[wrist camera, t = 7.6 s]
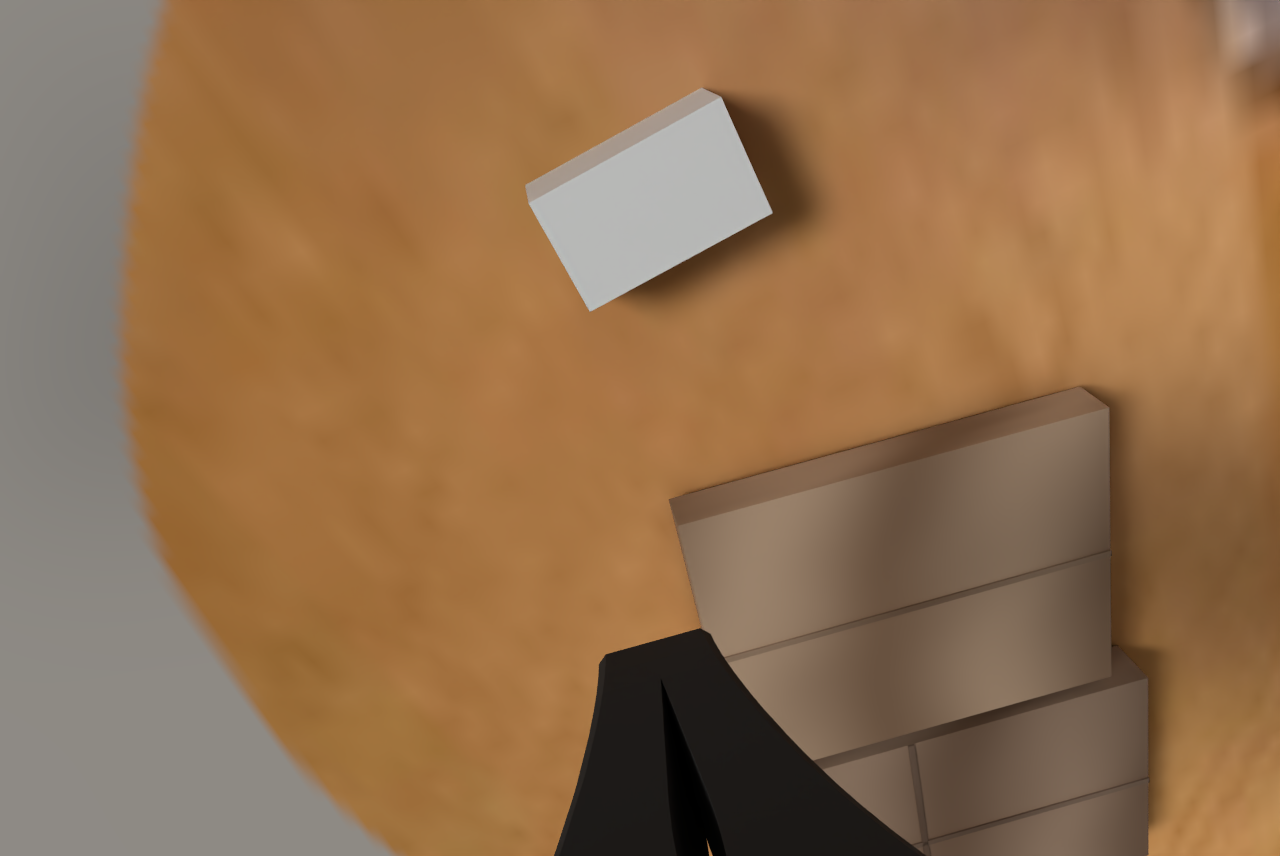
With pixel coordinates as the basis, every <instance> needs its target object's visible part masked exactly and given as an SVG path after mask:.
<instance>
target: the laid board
mask: <svg viewBox="0 0 1280 856" xmlns="http://www.w3.org/2000/svg"><path fill="white" fill-rule="evenodd" d="M1111 675H1112V676H1111V677H1108V678H1104V679H1100V680H1097V681H1093V682H1090V683H1086V684H1083V685H1079V686H1076V687H1072V688H1069V689H1065V690H1061V691H1058V692H1054V693H1051V694H1047V695H1044V696H1040V697H1037V698H1033V699H1029V700H1026V701H1022V702H1019V703H1015V704H1012V705H1008V706H1005V707H1001V708H998V709H994V710H990V711H987V712H983V713H980V714H976V715H973V716H969V717H966V718H962V719H958V720H955V721H951V722H948V723H944V724H941V725H937V726H934V727H930V728H927V729H923V730H919V731H916V732H912V733H909V734H905V735H902V736H898V737H895V738H891V739H887V740H884V741H880V742H877V743H873V744H870V745H866V746H863V747H859V748H856V749H852V750H848V751H845V752H841V753H838V754H834V755H831V756H827V757H824V758H820V759H816V760H813V761H814V762H815V763H816V764H817V765H818V766H819V767H820V768H821V769H822V770H823V771H824V772H825V773H826V774H827V775H828V776H830V777H831V778H832V779H833V780H834V781H835V782H836V783H837V784H838V785H839V786H840V787H842V788H843V789H844V790H845V791H846V792H847V793H848V794H849V795H851V796H852V797H853V798H854V799H855V800H856V801H857V802H859V803H860V804H861V805H862V806H863V807H864V808H866V809H867V810H868V811H869V812H871V813H872V814H873V815H874V816H876V817H877V818H878V819H879V820H880V821H882V822H883V823H884V824H885V825H887V826H888V827H889V828H890V829H892V830H893V831H894V832H895V833H897V834H898V835H899V836H901V837H902V838H903V839H905V840H906V841H907V842H909V843H910V844H911V845H913V846H914V847H915V848H917V849H918V850H919V851H921V852H922V853H923V854H925V855H926V856H1147V855H1148V783H1149V777H1148V677H1147V676H1146V675H1145V674H1144V673H1143V672H1142V671H1141V670H1140V669H1139V668H1138V667H1137V665H1136V664H1135V663H1134V662H1133V661H1132V660H1131V659H1130V658H1129V657H1128V656H1127V655H1126V654H1125V653H1124V652H1123V651H1122V650H1121V649H1120V647H1119V646H1118V645H1116V646H1112V647H1111Z"/></svg>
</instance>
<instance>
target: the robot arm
mask: <svg viewBox="0 0 1280 856" xmlns="http://www.w3.org/2000/svg"><path fill="white" fill-rule="evenodd" d="M706 838H707V839H706ZM707 841H708V844H709V847H710V849H711V852H712V855H713V856H926V855H925V854H923V853H922V852H921V851H919V850H918V849H917V848H915V847H914V846H913V845H911V844H910V843H909V842H907V841H906V840H905V839H903V838H902V837H901V836H899V835H898V834H897V833H895V832H894V831H893V830H892V829H890V828H889V827H888V826H887V825H885V824H884V823H883V822H882V821H880V820H879V819H878V818H877V817H876V816H874V815H873V814H872V813H871V812H869V811H868V810H867V809H866V808H864V807H863V806H862V805H861V804H860V803H859V802H857V801H856V800H855V799H854V798H853V797H852V796H851V795H849V794H848V793H847V792H846V791H845V790H844V789H843V788H842V787H840V786H839V785H838V784H837V783H836V782H835V781H834V780H833V779H832V778H831V777H830V776H828V775H827V774H826V773H825V772H824V771H823V770H822V769H821V768H820V767H819V766H818V765H817V764H816V763H815V762H814V761H813V760H812V759H811V758H810V757H809V756H808V755H807V754H806V753H805V752H804V751H803V750H802V749H801V748H800V747H799V746H798V745H797V744H796V743H795V742H794V741H793V740H792V739H791V738H790V737H789V736H788V735H787V734H786V733H785V732H784V730H783V729H782V728H781V727H780V726H779V725H778V724H777V723H776V722H775V721H774V719H773V718H772V717H771V716H770V715H769V714H768V713H767V712H766V711H765V709H764V708H763V707H762V706H761V705H760V704H759V703H758V701H757V700H756V699H755V698H754V697H753V695H752V694H751V693H750V692H749V690H748V689H747V688H746V687H745V685H744V684H743V683H742V681H741V680H740V679H739V678H738V676H737V675H736V674H735V672H734V671H733V670H732V668H731V667H730V665H729V664H728V663H727V661H726V660H725V658H724V656H723V655H722V653H721V652H720V650H719V648H718V647H717V645H716V643H715V642H714V640H713V638H712V635H711V634H710V633H708V632H707V631H705V630H703V629H701V628H700V629H696V630H692V631H689V632H685V633H682V634H678V635H674V636H671V637H667V638H664V639H660V640H656V641H653V642H649V643H646V644H642V645H638V646H635V647H631V648H628V649H624V650H620V651H617V652H613V653H610V654H606V655H605V656H604V658H603V659H602V661H601V662H600V664H599V677H598V687H597V695H596V702H595V708H594V713H593V719H592V724H591V729H590V734H589V738H588V742H587V746H586V750H585V754H584V758H583V762H582V766H581V770H580V774H579V778H578V782H577V786H576V789H575V793H574V796H573V800H572V803H571V806H570V809H569V812H568V815H567V818H566V821H565V824H564V827H563V830H562V833H561V837H560V840H559V843H558V846H557V849H556V852H555V854H554V856H709V852H708V845H707Z"/></svg>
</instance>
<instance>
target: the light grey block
mask: <svg viewBox="0 0 1280 856" xmlns="http://www.w3.org/2000/svg"><path fill="white" fill-rule="evenodd" d="M525 187H526V192H527V197H528V202H529V205H530V207H531V208H532V210H533V212H534V214H535V215H536V217H537V219H538V221H539V222H540V224H541V226H542V228H543V230H544V231H545V233H546V235H547V237H548V238H549V240H550V242H551V244H552V245H553V247H554V249H555V251H556V253H557V254H558V256H559V258H560V260H561V261H562V263H563V265H564V267H565V268H566V270H567V272H568V274H569V276H570V277H571V279H572V281H573V283H574V284H575V286H576V288H577V290H578V292H579V293H580V295H581V297H582V299H583V300H584V302H585V304H586V306H587V307H588V309H589V311H590V312H591V311H592V310H594V309H596V308H598V307H600V306H602V305H604V304H605V303H607V302H609V301H611V300H613V299H615V298H617V297H618V296H620V295H622V294H624V293H626V292H628V291H629V290H631V289H633V288H635V287H637V286H639V285H641V284H642V283H644V282H646V281H648V280H650V279H652V278H654V277H655V276H657V275H659V274H661V273H663V272H665V271H666V270H668V269H670V268H672V267H674V266H676V265H678V264H679V263H681V262H683V261H685V260H687V259H689V258H691V257H692V256H694V255H696V254H698V253H700V252H702V251H704V250H705V249H707V248H709V247H711V246H713V245H715V244H716V243H718V242H720V241H722V240H724V239H726V238H728V237H729V236H731V235H733V234H735V233H737V232H739V231H741V230H742V229H744V228H746V227H748V226H750V225H752V224H753V223H755V222H757V221H759V220H761V219H763V218H765V217H766V216H768V215H770V214H772V213H773V212H772V210H771V208H770V206H769V203H768V201H767V199H766V197H765V194H764V192H763V190H762V188H761V185H760V183H759V181H758V179H757V176H756V174H755V172H754V170H753V167H752V165H751V163H750V161H749V158H748V156H747V154H746V152H745V149H744V147H743V145H742V143H741V140H740V138H739V136H738V134H737V131H736V129H735V127H734V125H733V122H732V120H731V118H730V116H729V113H728V111H727V109H726V107H725V104H724V102H723V100H722V98H721V97H720V96H718V95H716V94H714V93H712V92H710V91H708V90H706V89H704V88H700V89H698V90H696V91H695V92H693V93H691V94H689V95H687V96H686V97H684V98H682V99H680V100H678V101H677V102H675V103H673V104H671V105H669V106H667V107H666V108H664V109H662V110H660V111H658V112H657V113H655V114H653V115H651V116H649V117H648V118H646V119H644V120H642V121H640V122H639V123H637V124H635V125H633V126H631V127H630V128H628V129H626V130H624V131H622V132H620V133H619V134H617V135H615V136H613V137H611V138H610V139H608V140H606V141H604V142H602V143H601V144H599V145H597V146H595V147H593V148H592V149H590V150H588V151H586V152H584V153H582V154H581V155H579V156H577V157H575V158H573V159H572V160H570V161H568V162H566V163H564V164H563V165H561V166H559V167H557V168H555V169H554V170H552V171H550V172H548V173H546V174H544V175H543V176H541V177H539V178H537V179H535V180H534V181H532V182H530V183H528V184H526V185H525Z"/></svg>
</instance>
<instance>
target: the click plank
mask: <svg viewBox="0 0 1280 856" xmlns="http://www.w3.org/2000/svg"><path fill="white" fill-rule="evenodd" d="M669 502H670V506H671V510H672V514H673V518H674V522H675V526H676V530H677V534H678V538H679V542H680V546H681V550H682V554H683V558H684V561H685V565H686V569H687V573H688V577H689V581H690V585H691V589H692V593H693V597H694V601H695V605H696V609H697V613H698V617H699V621H700V625H701V629H703V630H705V631H707V632H708V633H710V634H711V635H712V638H713V640H714V642H715V643H716V645H717V647H718V648H719V650H720V652H721V653H722V655H723V656H724V658H725V660H726V661H727V663H728V664H729V665H730V667H731V668H732V670H733V671H734V672H735V674H736V675H737V676H738V678H739V679H740V680H741V681H742V683H743V684H744V685H745V687H746V688H747V689H748V690H749V692H750V693H751V694H752V695H753V697H754V698H755V699H756V700H757V701H758V703H759V704H760V705H761V706H762V707H763V708H764V709H765V711H766V712H767V713H768V714H769V715H770V716H771V717H772V718H773V719H774V721H775V722H776V723H777V724H778V725H779V726H780V727H781V728H782V729H783V730H784V732H785V733H786V734H787V735H788V736H789V737H790V738H791V739H792V740H793V741H794V742H795V743H796V744H797V745H798V746H799V747H800V748H801V749H802V750H803V751H804V752H805V753H806V754H807V755H808V756H809V757H810V758H811V759H812V760H816V759H820V758H824V757H827V756H831V755H834V754H838V753H841V752H845V751H848V750H852V749H856V748H859V747H863V746H866V745H870V744H873V743H877V742H880V741H884V740H887V739H891V738H895V737H898V736H902V735H905V734H909V733H912V732H916V731H919V730H923V729H927V728H930V727H934V726H937V725H941V724H944V723H948V722H951V721H955V720H958V719H962V718H966V717H969V716H973V715H976V714H980V713H983V712H987V711H990V710H994V709H998V708H1001V707H1005V706H1008V705H1012V704H1015V703H1019V702H1022V701H1026V700H1029V699H1033V698H1037V697H1040V696H1044V695H1047V694H1051V693H1054V692H1058V691H1061V690H1065V689H1069V688H1072V687H1076V686H1079V685H1083V684H1086V683H1090V682H1093V681H1097V680H1100V679H1104V678H1108V677H1111V676H1112V675H1111V556H1112V551H1111V550H1110V433H1109V407H1108V406H1107V405H1105V404H1104V403H1102V402H1101V401H1100V400H1098V399H1097V398H1095V397H1094V396H1093V395H1091V394H1090V393H1088V392H1087V391H1086V390H1084V389H1083V388H1081V387H1077V388H1073V389H1069V390H1066V391H1062V392H1059V393H1055V394H1051V395H1048V396H1044V397H1040V398H1037V399H1033V400H1029V401H1026V402H1022V403H1018V404H1015V405H1011V406H1007V407H1004V408H1000V409H996V410H993V411H989V412H985V413H982V414H978V415H975V416H971V417H967V418H964V419H960V420H956V421H953V422H949V423H945V424H942V425H938V426H934V427H931V428H927V429H923V430H920V431H916V432H912V433H909V434H905V435H901V436H898V437H894V438H891V439H887V440H883V441H880V442H876V443H872V444H869V445H865V446H861V447H858V448H854V449H850V450H847V451H843V452H839V453H836V454H832V455H828V456H825V457H821V458H818V459H814V460H810V461H807V462H803V463H799V464H796V465H792V466H788V467H785V468H781V469H777V470H774V471H770V472H766V473H763V474H759V475H755V476H752V477H748V478H744V479H741V480H737V481H734V482H730V483H726V484H723V485H719V486H715V487H712V488H708V489H704V490H701V491H697V492H693V493H690V494H686V495H682V496H679V497H675V498H671V499H669Z"/></svg>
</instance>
